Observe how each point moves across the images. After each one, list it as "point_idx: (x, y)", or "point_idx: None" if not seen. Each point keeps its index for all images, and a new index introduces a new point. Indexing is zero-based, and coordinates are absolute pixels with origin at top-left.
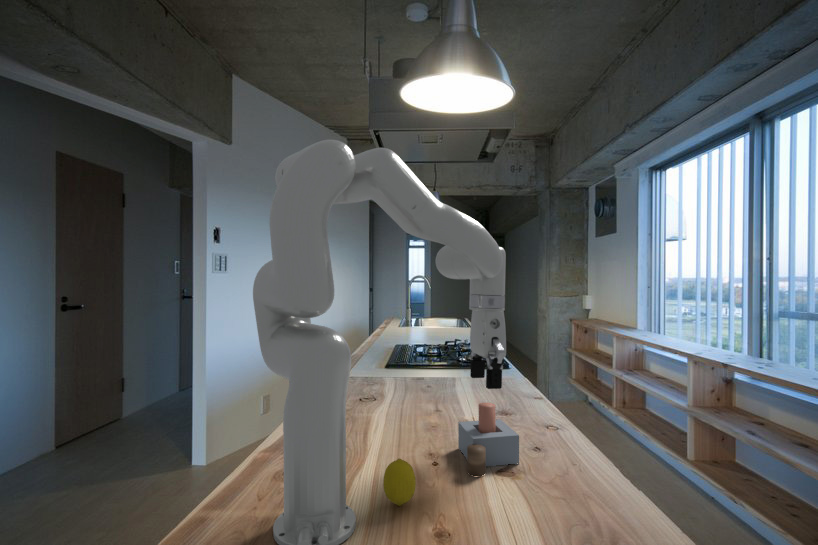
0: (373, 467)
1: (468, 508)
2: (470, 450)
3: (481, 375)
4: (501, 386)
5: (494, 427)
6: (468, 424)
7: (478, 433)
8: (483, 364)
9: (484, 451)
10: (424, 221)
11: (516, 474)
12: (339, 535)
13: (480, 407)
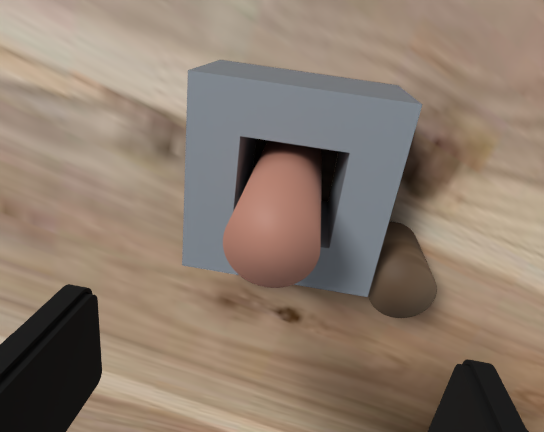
0: (261, 426)
1: (539, 343)
2: (411, 316)
3: (88, 324)
4: (495, 372)
5: (316, 181)
6: (219, 243)
7: (327, 256)
8: (14, 392)
9: (432, 275)
10: None
11: (458, 139)
12: None
13: (282, 284)
